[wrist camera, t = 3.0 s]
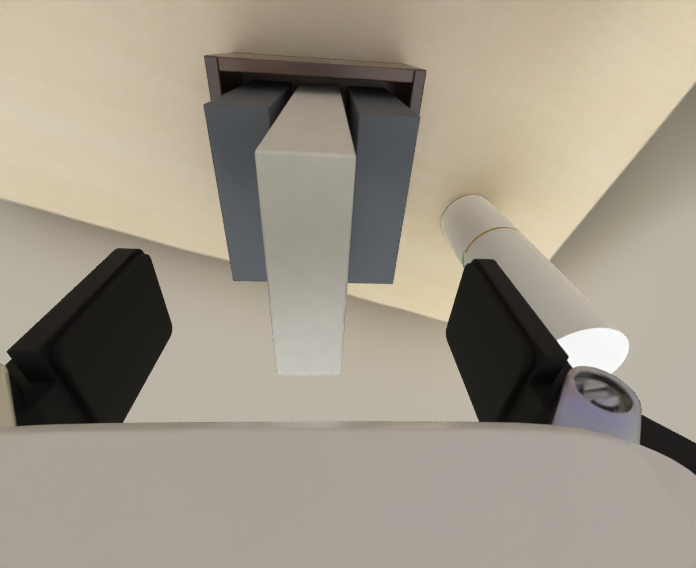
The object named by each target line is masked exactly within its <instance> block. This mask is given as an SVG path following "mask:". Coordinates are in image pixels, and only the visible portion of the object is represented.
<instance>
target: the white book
mask: <svg viewBox="0 0 696 568" xmlns="http://www.w3.org/2000/svg"><path fill="white" fill-rule="evenodd" d="M255 160H256V171H257V181H258V191H259V201H260V211H261V221H262V232H263V242H264V252H265V262H266V272H267V283H268V292H269V303H270V313H271V323H272V332H273V343H274V354H275V364H276V373H277V375H340V374H341V369H342V355H343V341H344V326H345V312H346V297H347V283H348V269H349V254H350V240H351V225H352V211H353V197H354V182H355V168H356V155H355V151H354V146H353V142H352V138H351V134H350V130H349V126H348V121H347V117H346V113H345V109H344V105H343V101H342V97H341V92H340V88H339V85H329V84H313V83H300V85H299V86H298V88H297V89H296V91H295V92H294V94H293V95H292V97H291V98H290V100H289V101H288V103H287V104H286V106H285V107H284V109H283V110H282V112H281V113H280V115H279V116H278V118H277V119H276V121H275V122H274V124H273V125H272V127H271V128H270V130H269V131H268V133H267V134H266V136H265V137H264V139H263V140H262V141H261V143H260V144H259V146H258V147H257V149H256V151H255Z"/></svg>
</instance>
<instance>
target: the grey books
mask: <svg viewBox="0 0 696 568" xmlns="http://www.w3.org/2000/svg"><path fill="white" fill-rule="evenodd" d="M291 97H292V82H282V81H265V80H251V81H249V82H247V83H245V84H243V85H241V86H239V87H238V88H236V89H234V90H232V91H230V92H228V93H226V94H224V95H222V96H220V97H218V98H216V99H214V100H212V101H210V102H208V103H206V104H204V110H205V116H206V122H207V128H208V134H209V140H210V146H211V152H212V158H213V164H214V170H215V176H216V181H217V187H218V193H219V199H220V205H221V211H222V217H223V223H224V229H225V235H226V241H227V246H228V252H229V258H230V264H231V270H232V275H233V280H234V281H267V272H266V262H265V252H264V242H263V232H262V221H261V211H260V201H259V191H258V181H257V171H256V160H255V151H256V149H257V147H258V146H259V144H260V143H261V141H262V140H263V139H264V137H265V136H266V134H267V133H268V131H269V130H270V128H271V127H272V125H273V124H274V122H275V121H276V119H277V118H278V116H279V115H280V113H281V112H282V110H283V109H284V107H285V106H286V104H287V103H288V101H289V100H290V98H291ZM346 117H347V121H348V126H349V130H350V134H351V138H352V142H353V146H354V151H355V155H356V168H355V182H354V197H353V211H352V225H351V240H350V254H349V269H348V283H375V284H393V279H394V273H395V267H396V261H397V255H398V249H399V243H400V237H401V231H402V225H403V219H404V213H405V206H406V200H407V194H408V188H409V182H410V176H411V170H412V164H413V158H414V152H415V146H416V140H417V133H418V127H419V121H420V116H419V115H417V114H416V113H415V112H414V111H412V110H411V109H410V108H409V107H408V106H406V105H405V104H404V103H403V102H401V101H400V100H399V99H398V98H397V97H395V96H394V95H393V94H392V93H390V92H389V91H388V90H387V89H386V88H379V87H363V86H347V101H346Z"/></svg>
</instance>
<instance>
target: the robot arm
mask: <svg viewBox="0 0 696 568" xmlns="http://www.w3.org/2000/svg"><path fill="white" fill-rule="evenodd" d="M171 333H172V323H171V320H170V317H169V314H168V311H167V307H166V304H165V301H164V298H163V295H162V292H161V289H160V286H159V282H158V279H157V276H156V273H155V270H154V267H153V264H152V260H151V258H150V256H149V255H147V254H144V252H143V251H142V250H140V249H124V248H122V249H121V248H119V249H116V250H114V251H113V252H112V253H111V254H110V255H109V256H108V257H107V258H106V259H105V260H103V261H102V262H101V263H100V264H99V265H98V266H97V267H96V268H95V269H94V270H93V271H92V272H91V273H90V274H89V275H88V276H87V277H85V278H84V279H83V280H82V281H81V282H80V283H79V284H78V285H77V286H76V287H75V288H74V289H73V290H72V291H70V292H69V293H68V294H67V295H66V296H65V297H64V298H63V299H62V300H61V301H60V302H59V303H58V304H57V305H56V306H54V308H52V309H51V310H50V311H49V312H48V313H47V314H46V315H45V316H44V317H43V318H42V319H41V320H40V321H39V322H37V323H36V324H35V325H34V326H33V327H32V328H31V329H30V330H29V331H28V332H27V333H26V334H25V335H24V336H23V337H22V338H20V339H19V340H18V341H17V342H16V343H15V344H14V345H13V346H12V347H11V348H10V349H9V350H8V351H7V353H8V354H9V356H10V357H11V358H12V359H11V360H10V361H9V362H8V363H7V364H6V365H3V364H0V568H696V443H694V442H692V441H691V440H688V439H687V438H685V437H683V436H681V435H679V434H677V433H675V432H673V431H671V430H670V429H668V428H666V427H664V426H662V425H660V424H658V423H656V422H654V421H652V420H651V419H649V418H647V417H645V416H643V415H641V412H642V408H641V404H640V400H639V399H638V397H637V396H636V394H635V392H634V391H633V390H632V389H631V388H630V387H629V386H628V385H627V384H625V383H624V382H623V381H621V380H620V379H619V378H617V377H616V376H614V375H612V374H610V373H608V372H606V371H603V370H601V369H598V368H595V367H589V366H576V367H574V368H572V366H571V365H570V364H569V362H568V361H567V360H568V358H569V356H568V355H567V353H566V352H565V351H564V349H563V348H562V347H561V346H560V344H559V343H558V342H557V340H556V339H555V338H554V336H553V335H552V334H551V333H550V331H549V330H548V329H547V327H546V326H545V325H544V323H543V322H542V321H541V319H540V318H539V317H538V316H537V314H536V313H535V312H534V310H533V309H532V308H531V306H530V305H529V304H528V303H527V301H526V300H525V299H524V297H523V296H522V295H521V293H520V292H519V291H518V290H517V288H516V287H515V286H514V284H513V283H512V282H511V280H510V279H509V278H508V277H507V275H506V274H505V273H504V271H503V270H502V269H501V267H500V266H499V265H498V264H497V262H496V261H495V260H494V259H473V260H472V262H471V263H467V264H466V265H465V268H464V271H463V274H462V278H461V281H460V284H459V288H458V291H457V294H456V298H455V301H454V304H453V308H452V311H451V314H450V318H449V321H448V325H447V329H446V338H447V341H448V344H449V346H450V349H451V352H452V354H453V357H454V359H455V362H456V364H457V367H458V369H459V372H460V374H461V377H462V379H463V382H464V384H465V387H466V389H467V392H468V395H469V397H470V400H471V402H472V405H473V407H474V410H475V412H476V415H477V417H478V420H479V422H391V421H390V422H389V421H385V422H384V421H380V422H377V421H376V422H375V421H374V422H373V421H369V422H368V421H367V422H365V421H363V422H361V421H358V422H356V421H350V422H349V421H347V422H346V421H343V422H342V421H341V422H340V421H338V422H171V423H170V422H166V423H123V421H124V420H125V418H126V416H127V414H128V412H129V411H130V409H131V407H132V405H133V403H134V402H135V400H136V398H137V396H138V394H139V392H140V390H141V389H142V387H143V385H144V383H145V382H146V380H147V378H148V376H149V374H150V373H151V371H152V369H153V367H154V365H155V363H156V362H157V360H158V358H159V356H160V355H161V353H162V351H163V349H164V347H165V345H166V343H167V342H168V340H169V338H170V336H171Z"/></svg>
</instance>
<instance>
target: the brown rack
mask: <svg viewBox="0 0 696 568" xmlns="http://www.w3.org/2000/svg"><path fill="white" fill-rule="evenodd" d="M204 59H205V65H206V72H207V78H208V85H209V91H210V97H211V101H212V100H214V99H216V98H218V97H220V96H222V95H224V94H226V93H228V92H230V91H232V90H234V89H236V88H238V87H239V86H241V85H243V84H245V83H247V82H249V81H251V80H265V81H282V82H292V95H293V94H294V92H295V91H296V89H297V88H298V86H299V85H300V83H313V84H329V85H339V88H340V92H341V97H342V101H343V105H344V109H345V113H346V101H347V86H363V87H379V88H386V89H387V90H388V91H389V92H390V93H392V94H393V95H394V96H395V97H397V98H398V99H399V100H400V101H401V102H403V103H404V104H405V105H406V106H408V107H409V108H410V109H411V110H412V111H414V112H415V113H416V114H417V115H419V114H420V108H421V102H422V95H423V89H424V83H425V77H426V70H424V69H421V68H417V67H414V66H410V65H407V64H399V63H384V62H369V61H354V60H339V59H325V58H310V57H295V56H280V55H265V54H250V53H235V52H231V53H222V54H212V55H205V56H204Z"/></svg>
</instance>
